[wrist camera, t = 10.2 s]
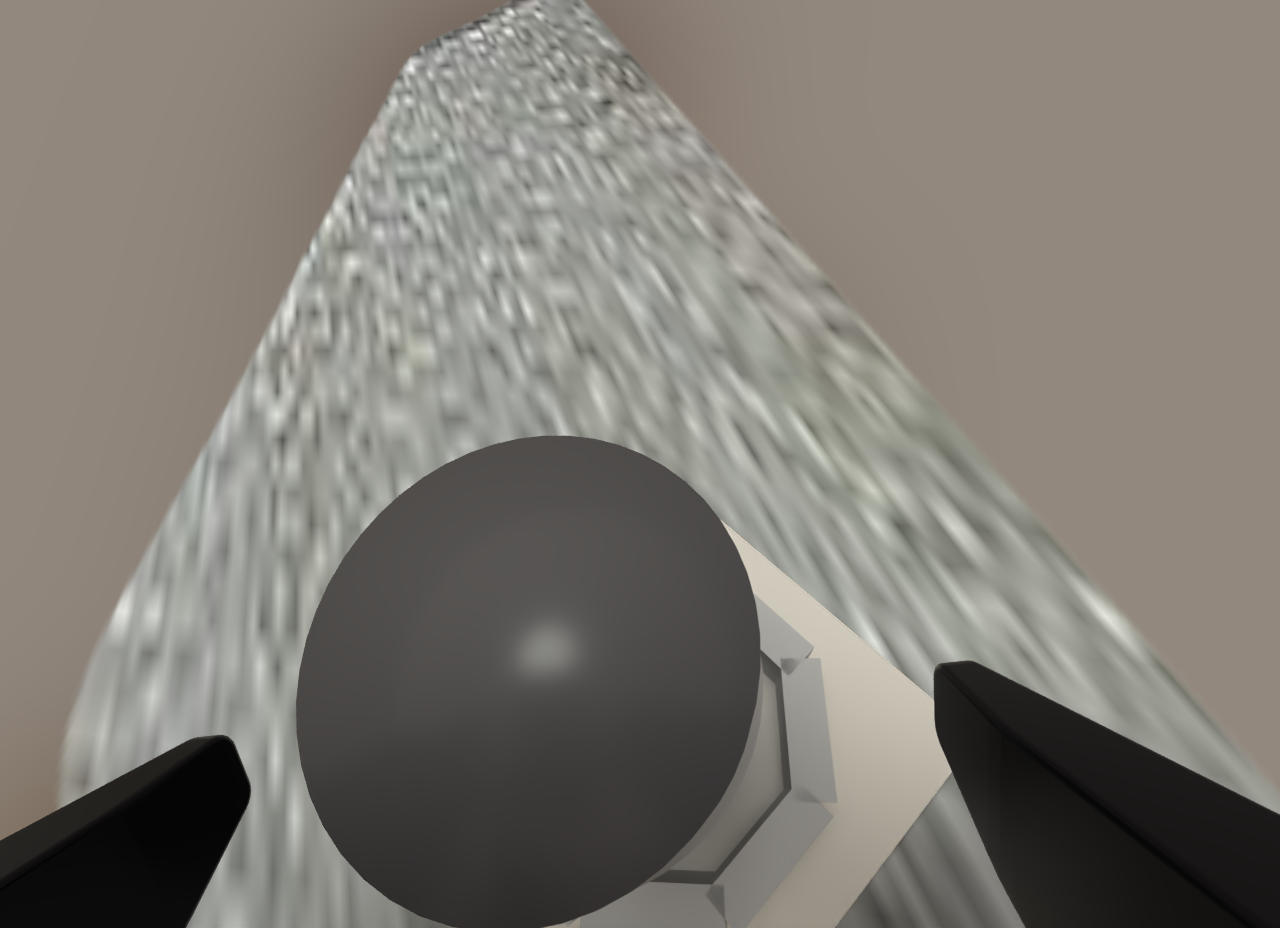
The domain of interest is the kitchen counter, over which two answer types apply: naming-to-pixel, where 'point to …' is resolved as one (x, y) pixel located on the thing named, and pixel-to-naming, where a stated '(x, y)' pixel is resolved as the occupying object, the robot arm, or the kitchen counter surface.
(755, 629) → the dark grey capped cylinder
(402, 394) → the kitchen counter surface
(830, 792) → the collar mount
